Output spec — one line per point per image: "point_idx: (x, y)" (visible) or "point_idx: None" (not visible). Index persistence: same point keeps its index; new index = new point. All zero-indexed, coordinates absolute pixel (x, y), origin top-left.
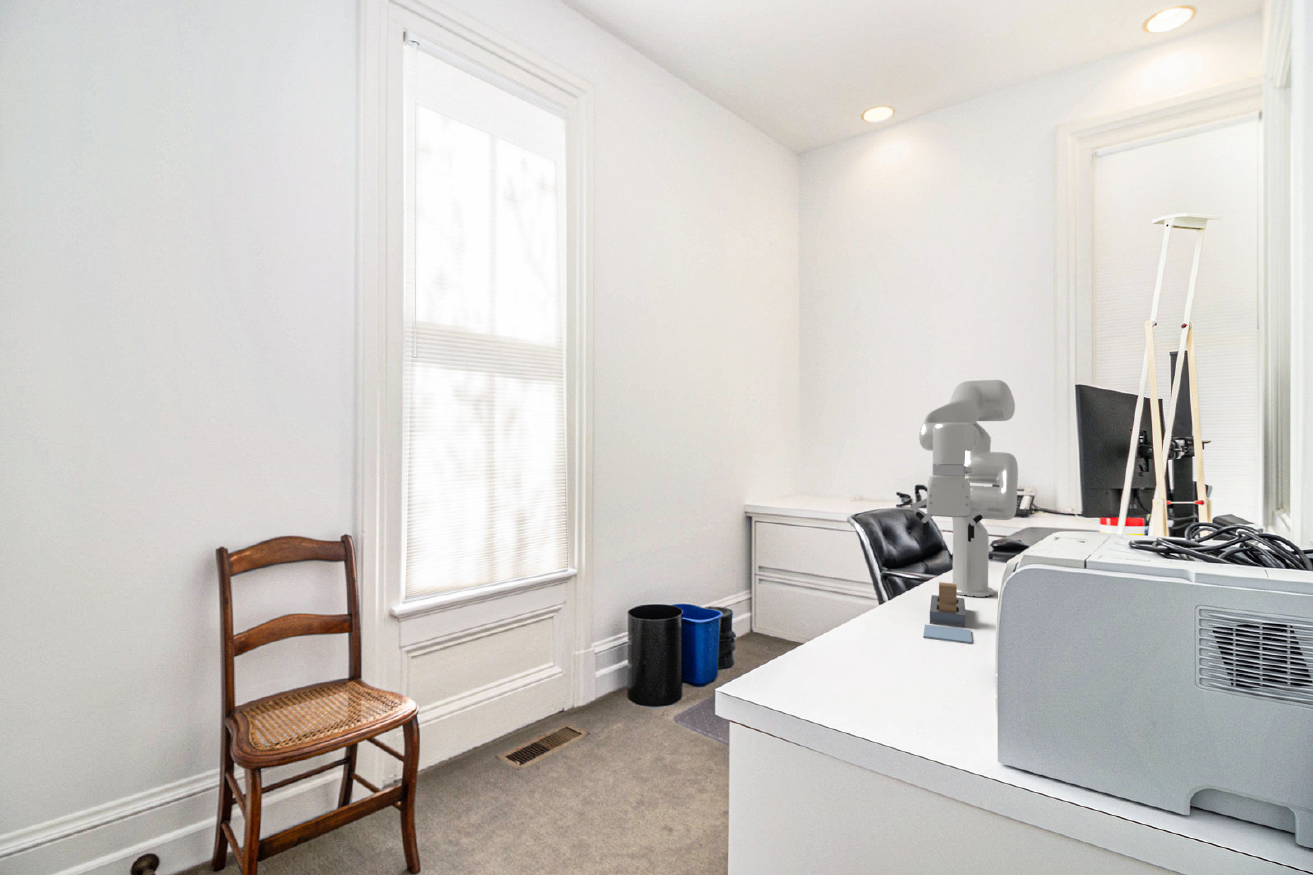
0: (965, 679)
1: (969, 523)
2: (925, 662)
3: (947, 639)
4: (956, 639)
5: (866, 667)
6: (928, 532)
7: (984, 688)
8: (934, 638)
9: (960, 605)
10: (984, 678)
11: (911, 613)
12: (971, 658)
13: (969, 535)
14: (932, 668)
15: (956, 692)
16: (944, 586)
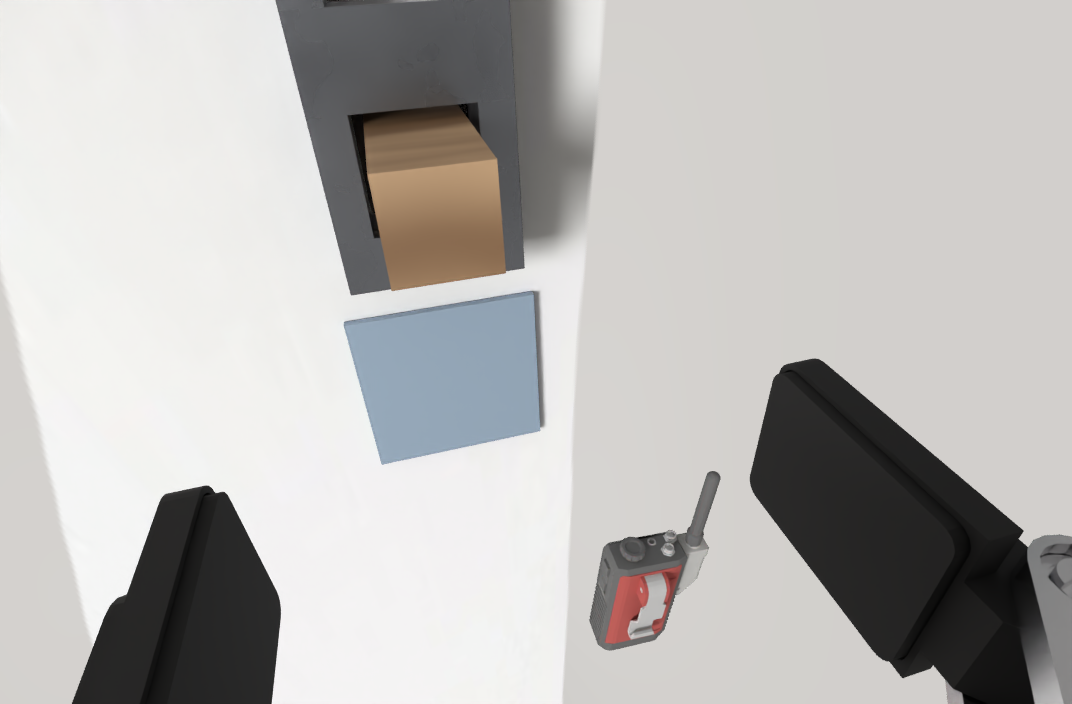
0: (529, 632)
1: (956, 680)
2: (436, 611)
3: (463, 446)
4: (492, 435)
5: (323, 700)
6: (265, 698)
7: (563, 643)
8: (420, 454)
9: (485, 46)
10: (565, 609)
11: (187, 105)
12: (539, 531)
13: (807, 548)
14: (458, 628)
15: (516, 680)
16: (428, 283)
